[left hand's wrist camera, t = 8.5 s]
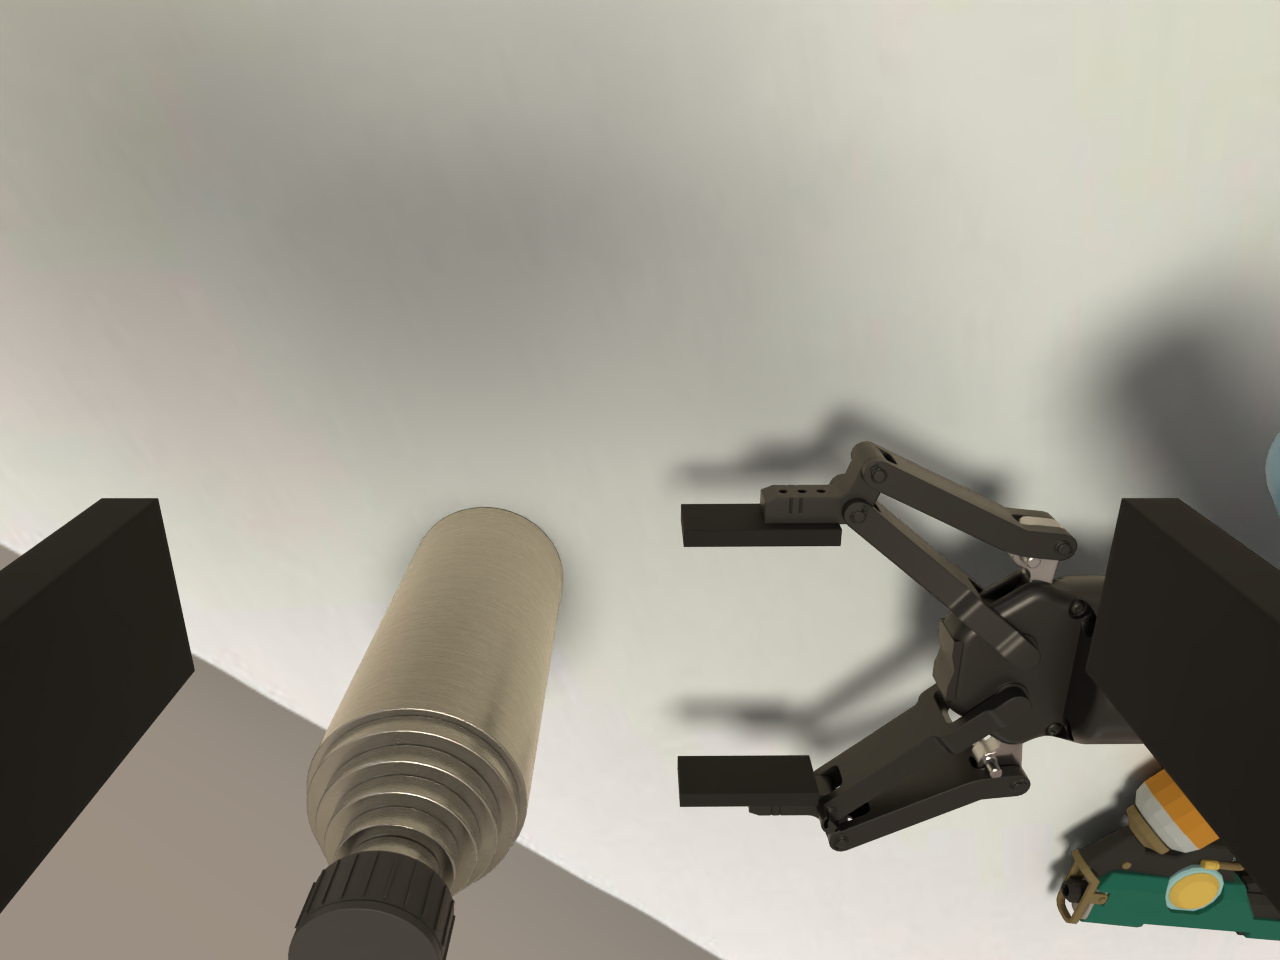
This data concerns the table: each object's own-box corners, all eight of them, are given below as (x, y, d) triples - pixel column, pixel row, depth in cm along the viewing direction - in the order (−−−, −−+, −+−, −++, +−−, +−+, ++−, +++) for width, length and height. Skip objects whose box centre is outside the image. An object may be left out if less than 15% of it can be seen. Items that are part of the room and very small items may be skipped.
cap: (299, 937, 28) (274, 1001, 26) (326, 832, 27) (301, 891, 25) (437, 969, 29) (422, 1033, 27) (471, 868, 27) (458, 927, 25)
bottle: (399, 616, 48) (213, 1014, 27) (433, 488, 46) (255, 820, 24) (539, 654, 49) (466, 1069, 28) (581, 532, 47) (534, 887, 25)
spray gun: (1399, 786, 54) (1227, 947, 59) (1181, 694, 50) (1019, 875, 55) (1462, 843, 50) (1271, 1010, 55) (1230, 748, 46) (1051, 937, 52)
